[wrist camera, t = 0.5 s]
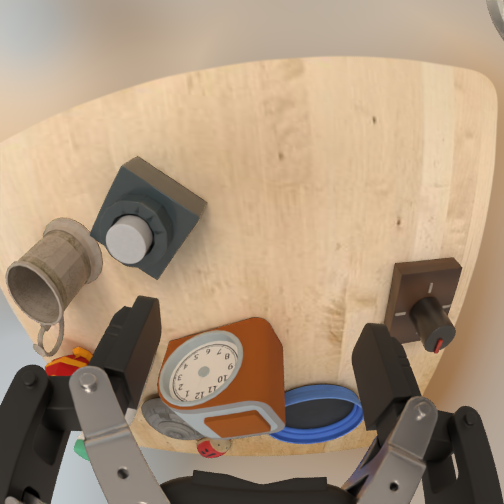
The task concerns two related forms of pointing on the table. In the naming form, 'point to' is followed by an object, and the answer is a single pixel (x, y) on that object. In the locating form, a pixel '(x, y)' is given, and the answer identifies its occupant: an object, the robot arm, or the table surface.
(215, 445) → the ladybug figurine
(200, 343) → the alarm clock
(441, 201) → the table surface
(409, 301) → the dial panel
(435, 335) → the dial
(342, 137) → the table surface
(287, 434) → the bowl
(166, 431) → the flying saucer
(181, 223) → the push button base
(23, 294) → the mug
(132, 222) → the grey push button
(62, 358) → the potion bottle
